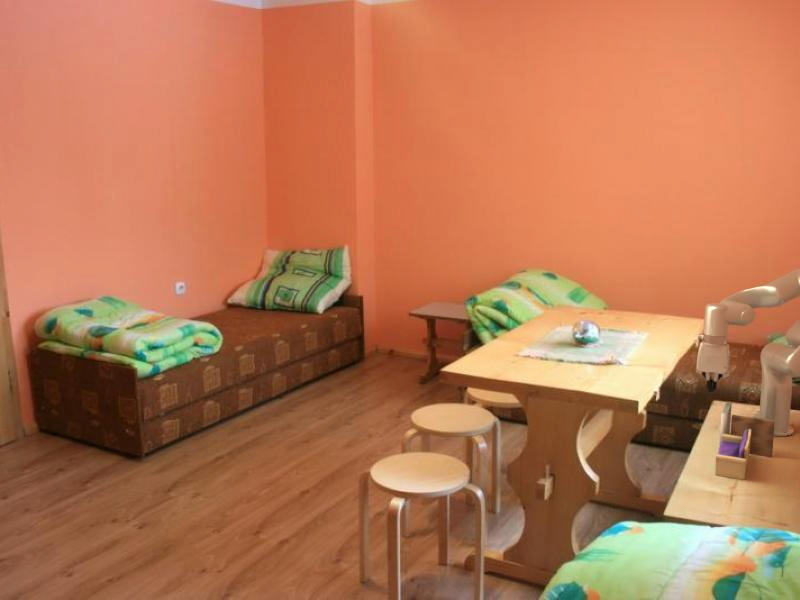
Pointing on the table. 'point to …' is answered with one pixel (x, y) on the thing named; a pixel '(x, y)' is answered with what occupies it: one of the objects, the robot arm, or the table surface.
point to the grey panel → (725, 420)
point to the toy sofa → (733, 455)
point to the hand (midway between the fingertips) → (711, 391)
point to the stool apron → (755, 433)
